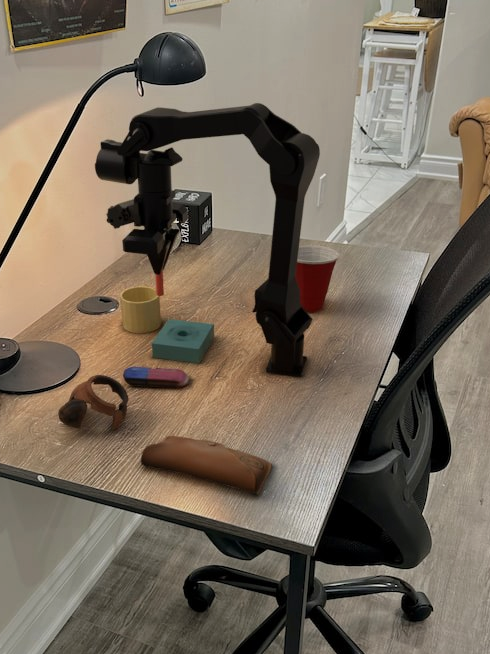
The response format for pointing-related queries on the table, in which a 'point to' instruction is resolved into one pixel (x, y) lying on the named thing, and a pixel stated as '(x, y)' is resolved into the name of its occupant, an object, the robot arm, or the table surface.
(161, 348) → the block
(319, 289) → the plastic cup
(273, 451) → the table surface
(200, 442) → the sunglasses case
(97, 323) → the table surface
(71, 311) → the table surface
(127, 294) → the tumbler
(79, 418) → the brown curved ring piece
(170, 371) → the eraser
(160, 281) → the red rod
